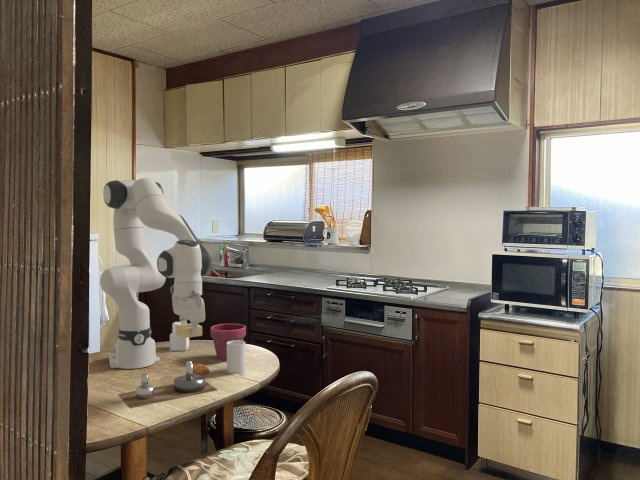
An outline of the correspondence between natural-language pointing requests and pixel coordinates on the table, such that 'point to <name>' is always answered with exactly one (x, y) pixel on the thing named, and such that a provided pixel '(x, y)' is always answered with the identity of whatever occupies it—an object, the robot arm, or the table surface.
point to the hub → (189, 381)
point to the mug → (236, 357)
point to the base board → (160, 395)
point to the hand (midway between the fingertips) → (188, 331)
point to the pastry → (200, 369)
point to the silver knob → (144, 389)
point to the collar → (187, 331)
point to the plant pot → (226, 337)
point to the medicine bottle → (177, 340)
